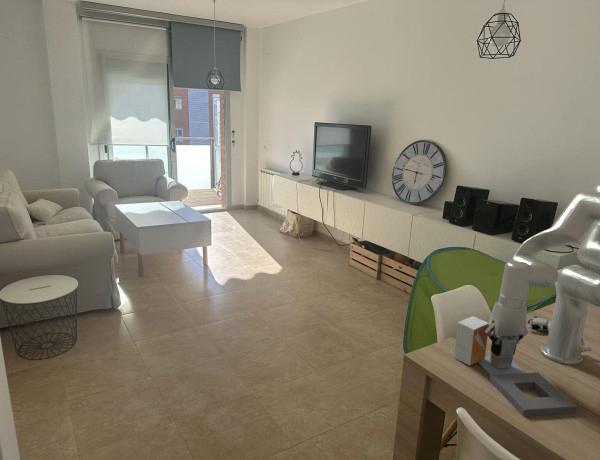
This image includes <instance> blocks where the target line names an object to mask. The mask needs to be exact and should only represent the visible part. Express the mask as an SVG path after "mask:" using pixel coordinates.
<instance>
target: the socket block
mask: <svg viewBox="0 0 600 460" xmlns="http://www.w3.org/2000/svg"><path fill="white" fill-rule="evenodd" d="M488 381H489V382H490V383H491V384H492V385H493V386H494V387H495V389H497V391H498V392H499V393H500V394H501V395H502V396H503V397H504V398H505V400H506V401H508V402H509V403H510V404H511V405H512V407H514V408H515V409H516V411H517V412H518V413H520V415H521V416H522V417H528V416H543V415H559V414H570V413H571V414H572V413H573V414H575V413H577V410H578V405H577V404H575V403H574V402H573V401H572V400H571V399H570V398H568V397H567V396H566V395H565V394H564V393H563V392H562V391H560V390H559V389H558V388H557V387H556V386H555V385H553V384H552V383H551V382H550V381H549V380H548V379H546V378H545V377H544V376H543V375H542V374H541V373H539V372H526V373H517V374H497V375H490V374H489V379H488ZM521 389H534V390H535V391H536V392H537V393H538V394H540V395H541V396H542V397H528V396H527V395H526V394H525V393H524V392H523V391H522V390H521Z"/></svg>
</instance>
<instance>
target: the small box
mask: <svg viewBox="0 0 600 460" xmlns="http://www.w3.org/2000/svg"><path fill="white" fill-rule="evenodd" d="M488 325H489V321H485V320H483V319H480V318H478V317H476V316H473V315H472V316H470V317H467V318H464V319H462V320H460V321H458V322H457V324H456V326H457V327H456V335H455V346H454V347H455V348H454V354H453V355H454V358H455V359H456V360H458V361H460V362H461V363H464V364H466V365H468V366H472V365H474V364H477V363H478V361H480V360H482V359H484V358H485V356H486V353H487V351H486V350H487V345H488V343H487V342H488V338H489V337H488V336H487V335H486V334H484V331H485V330H486V329H487V328H488Z"/></svg>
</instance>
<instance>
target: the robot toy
mask: <svg viewBox="0 0 600 460" xmlns="http://www.w3.org/2000/svg"><path fill="white" fill-rule="evenodd" d="M527 323H528V324H526V328H527V329H529V330H530V329H531V330H532V331H533V330H534V331H539V332H541V331H544V332H546V331H547V332H548V333H549V330H550V325H551V320H550V321H549V320H548V319H545V318H541V317H538V316H536V315H535V316H530V317H529V320H528V321H527Z"/></svg>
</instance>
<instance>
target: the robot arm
mask: <svg viewBox="0 0 600 460" xmlns="http://www.w3.org/2000/svg"><path fill="white" fill-rule="evenodd" d="M569 201H570V202H569V203H568V204H567V205H566V207H565V208H564V209H563V211H562V212H561V213H560V214H559V216H558V217H557V219H556V220H555V222H554V223H553V224H552V225H551V227H549V228H547V229H545V230H542V231H540V232H538V233H537V234H534V235H532V236H530V237H529V238H528V239H526V240H525V241H523V242H522V244H521V245H520V246H519V247H518V249H517V250H516V251H515V253H514V254H513V256H512V258H511V259H510V260H508V261H507V262H506V263H505V264H504V268H503V275H502V280H501V286H500V290H499V297H498V301H496V302H495V304H494V305H493V307H492V310H491V313H490V316H489V320H488V323H489V325H488V328H487V329H486V330H485V331H484V334H486V335H487V336H488V337H487V338H489V340H490V341H491V345H490V353H491V352H492V353H493V354H494V355H495V356H498V355H499V350H500V344H499V342H500V340H501V338H502V336H513V337H514V338H515V339H516V345H515V350H514V355H515V354H516V350H517V345H518V344H519V343H520V341H522V339H523V338H524V337H525V336H526V335H527V336H528V334H529V331H528V328H527V318H528V315H527V314H528V310H527V306H526V304H527V302H529V300H530V297H529V296H528V295H529V294H528V293H529V291H530V290H529V289H530V287H532V288H548V287H549V288H550V287H551V286H553V285H554V284H556V297H555V303H554V307H553V312H552V315H551V319H550V321H551V325H550V330H549V332H548V334H547V340H546V342H544V343H541V345H540V346H539V348H540V349H539V350H540V352H541V354H543V356H545V357H546V358H548V359H550V360H551V361H555V362H556V363H560V364H565V365H573V366H574V365H575V366H576V365H580V364H581V363H582V362H583V359H584V358H583V356H582V353H584V352H591V351H592V347H591V346H590V345H583V344H582V340H583V335H584V330H585V327H586V322H587V319H588V316H589V315H588V313H589V306H588V303H589V304H591V305H593V306H596V307H598V308H600V273H597V272H595V271H592V270H590V269H587V268H584V267H581V266H577V265H567V266H564V267H562V268H561V269H560V270H559V271H558V269H557V268H556V267H555V266H554V265H552V264H550V263H547V262H545V261H542V260H540V259H537V258H535V257H536V256H537V255H538V254H539V253H540V252H542V251H545V250H547V249H549V248H555V247H563V246H570V245H575V244H578V243H579V242H580V241H581V239H582V237H583V236H584V235H585V234H586V232H587V231H588V230H589V228H590V230H589V231H588V233H587V234H586V236H585V238H584V239H583V241H582V243H581V245H580V246H579V248H578V250H577V255H576V256H577V259H578V261H579V262H581V263H582V264H584V265H585V266H588V267H591V268H594V269H596V270H599V271H600V183H598V184H597V185H595V186H594V187H593V189H592V190H585V191H584V190H583V191H580V192H578V193H576V194H575V195H574V196H573V197H572V198H571V200H569ZM496 336H497V338H496Z"/></svg>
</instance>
